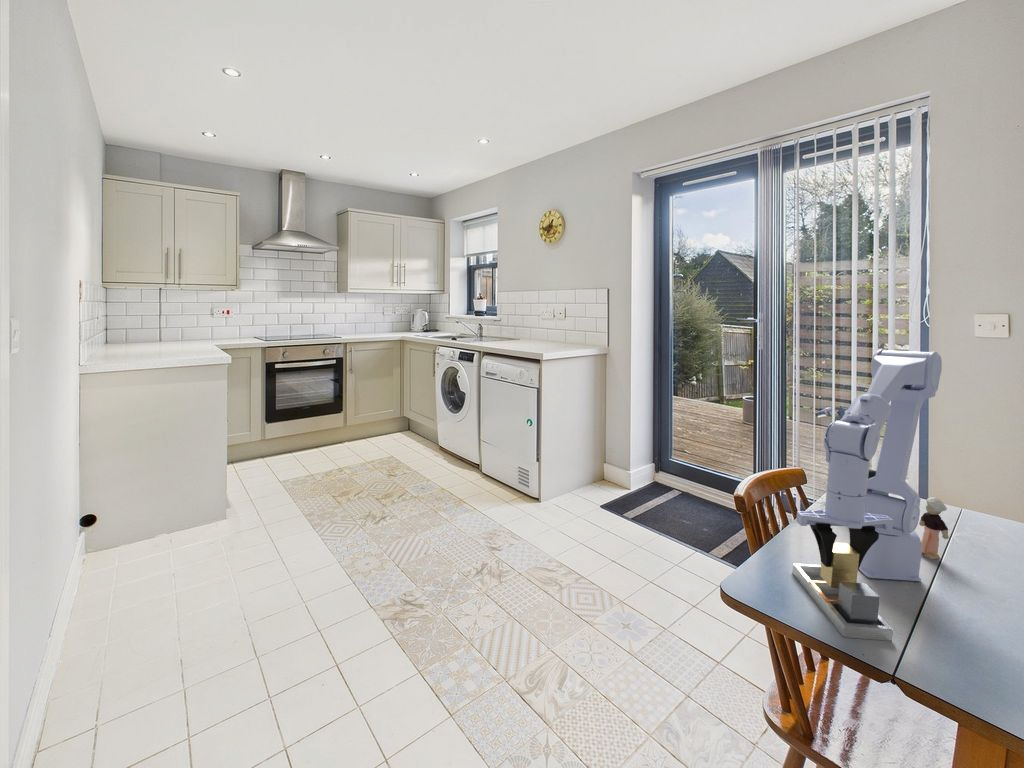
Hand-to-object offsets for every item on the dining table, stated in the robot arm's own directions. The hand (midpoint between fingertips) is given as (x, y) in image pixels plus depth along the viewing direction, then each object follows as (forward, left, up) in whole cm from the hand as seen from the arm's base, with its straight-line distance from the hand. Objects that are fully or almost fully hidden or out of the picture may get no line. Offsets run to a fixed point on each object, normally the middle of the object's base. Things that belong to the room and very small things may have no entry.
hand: (839, 565), depth 87 cm
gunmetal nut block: (0, +6, -7) cm, 10 cm away
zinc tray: (0, 0, -7) cm, 7 cm away
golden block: (0, 0, -3) cm, 3 cm away
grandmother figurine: (-28, -22, -7) cm, 36 cm away
